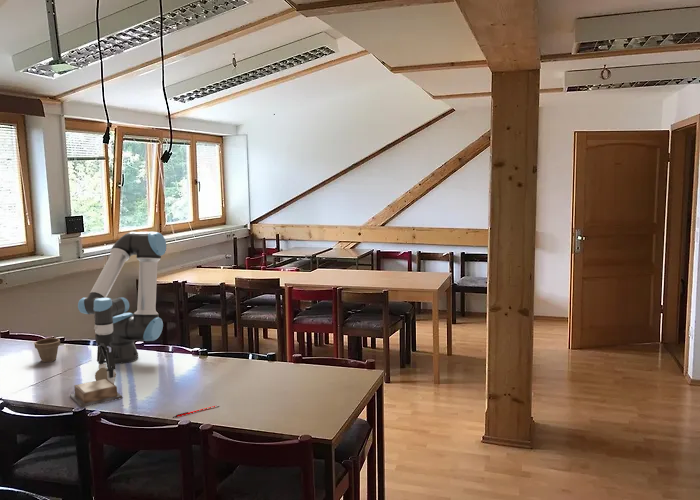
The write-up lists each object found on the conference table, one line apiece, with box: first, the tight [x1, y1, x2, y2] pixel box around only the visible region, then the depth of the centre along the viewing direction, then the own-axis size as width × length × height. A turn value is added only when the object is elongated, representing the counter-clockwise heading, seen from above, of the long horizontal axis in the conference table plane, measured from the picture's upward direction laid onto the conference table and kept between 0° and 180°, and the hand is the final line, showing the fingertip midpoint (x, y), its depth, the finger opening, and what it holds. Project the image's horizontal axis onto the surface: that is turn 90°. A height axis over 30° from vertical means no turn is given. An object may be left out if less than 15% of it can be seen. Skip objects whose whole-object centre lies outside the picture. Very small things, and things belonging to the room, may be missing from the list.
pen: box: [172, 405, 216, 419], centre depth 229 cm, size 1×19×1 cm, turn 126°
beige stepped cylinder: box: [94, 367, 117, 381], centre depth 266 cm, size 8×10×10 cm
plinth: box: [69, 379, 123, 408], centre depth 245 cm, size 16×16×5 cm
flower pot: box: [34, 337, 61, 363], centre depth 298 cm, size 12×11×10 cm
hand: (107, 381), depth 266 cm, fingers open, 11 cm apart
